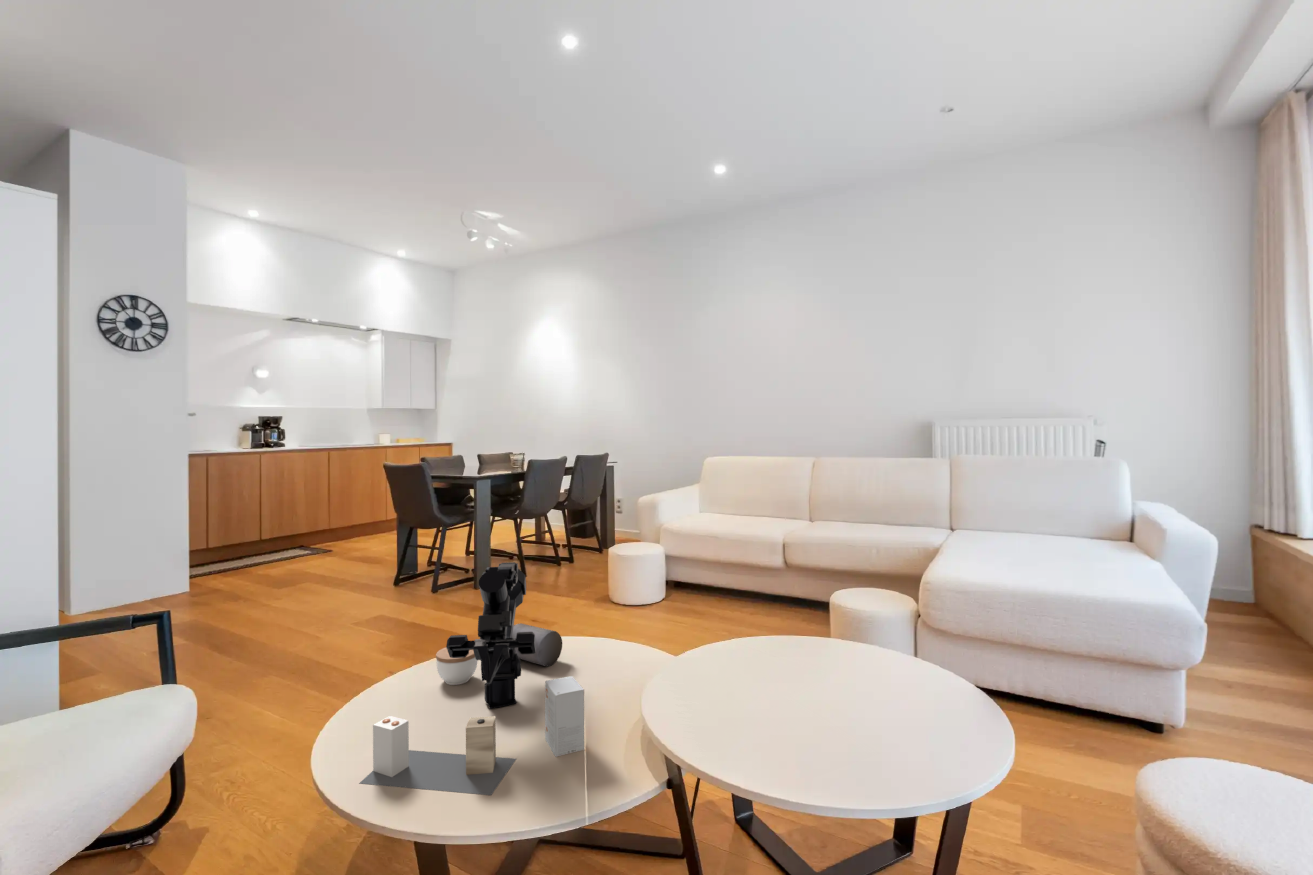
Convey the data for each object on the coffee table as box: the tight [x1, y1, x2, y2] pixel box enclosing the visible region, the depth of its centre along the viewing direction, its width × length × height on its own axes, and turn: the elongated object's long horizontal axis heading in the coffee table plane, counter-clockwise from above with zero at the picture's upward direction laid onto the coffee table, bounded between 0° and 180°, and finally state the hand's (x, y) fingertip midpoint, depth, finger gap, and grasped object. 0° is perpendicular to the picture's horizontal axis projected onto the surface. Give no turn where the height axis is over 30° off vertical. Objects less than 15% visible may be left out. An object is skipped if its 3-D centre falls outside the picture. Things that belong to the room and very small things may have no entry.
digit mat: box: [358, 749, 517, 796], centre depth 114 cm, size 26×12×1 cm, turn 82°
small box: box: [544, 675, 585, 757], centre depth 123 cm, size 8×6×13 cm
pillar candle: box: [512, 623, 563, 667], centre depth 170 cm, size 10×10×15 cm
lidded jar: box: [435, 647, 479, 686], centre depth 157 cm, size 11×11×9 cm
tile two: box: [372, 715, 410, 777], centre depth 114 cm, size 4×5×9 cm
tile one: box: [465, 715, 497, 775], centre depth 114 cm, size 4×5×9 cm
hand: (488, 683), depth 124 cm, fingers closed
